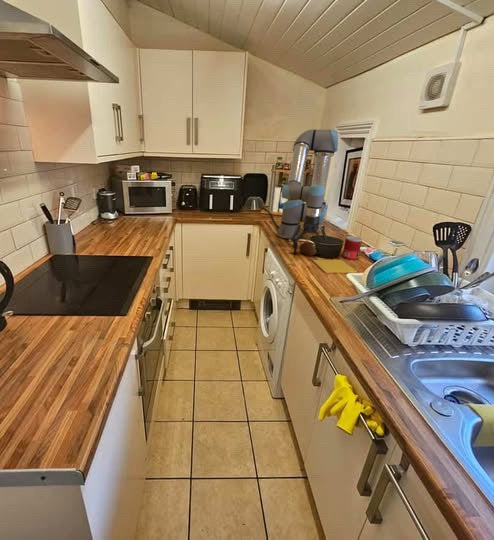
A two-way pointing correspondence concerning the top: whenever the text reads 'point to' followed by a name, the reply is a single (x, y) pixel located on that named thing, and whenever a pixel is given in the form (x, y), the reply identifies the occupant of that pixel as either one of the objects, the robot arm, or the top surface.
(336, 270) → the tea towel
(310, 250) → the potato
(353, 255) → the canned food
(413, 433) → the top surface
